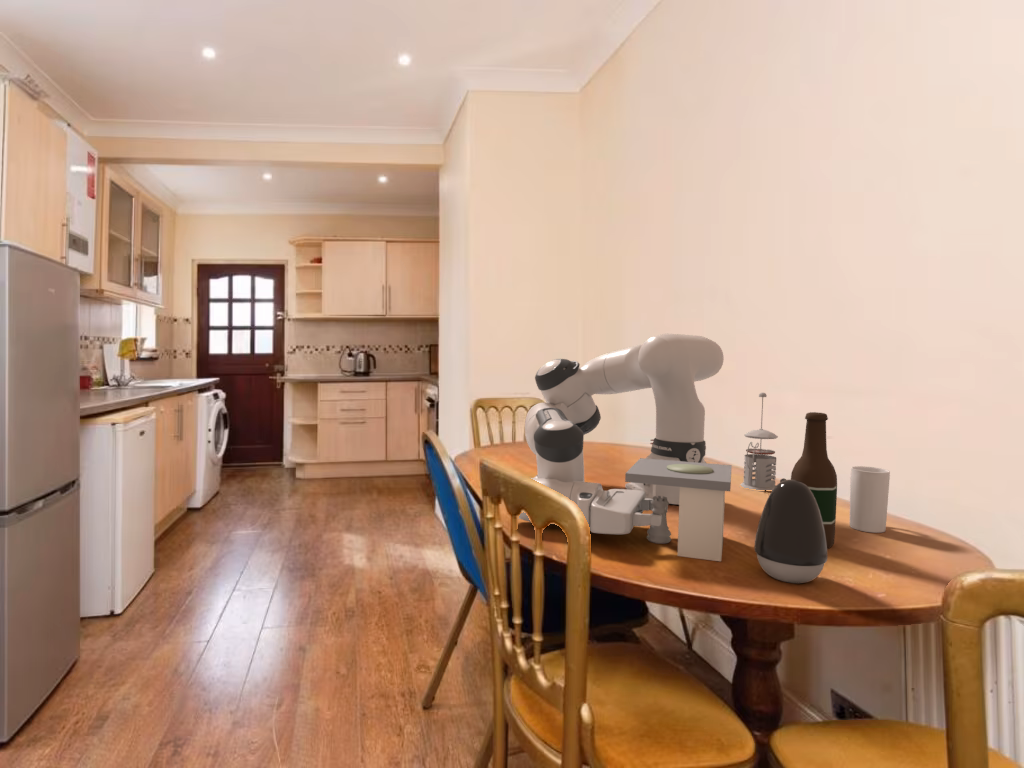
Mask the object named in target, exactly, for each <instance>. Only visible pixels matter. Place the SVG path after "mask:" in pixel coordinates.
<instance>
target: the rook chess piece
mask: <svg viewBox="0 0 1024 768" xmlns="http://www.w3.org/2000/svg"><path fill="white" fill-rule="evenodd" d="M651 503H652V505H653V509H652V510H651V511H652V513H654V514H660V515H661V516H662V523H661V525H660V526H653V525H649V527H648V529H647V530H646V533H647V536H646V539H647V540H648V542H650V543H652V544H657V545H658V544H659V545H660V544H661V545H665V544H669V543H670V542H671V541H672V538H671V535H672V532H671V531H670V529H669V528H670V527H669V526H668V520H667V513H668V510H666V508H667V506H668V507H669V505H670V504H669V502H668V501H667V497H664V496H663V499H662V498H661V496H658V498H657V496H654V497H653V500H652V501H651Z"/></svg>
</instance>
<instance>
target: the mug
mask: <svg viewBox="0 0 1024 768" xmlns="http://www.w3.org/2000/svg"><path fill="white" fill-rule="evenodd" d="M890 474H891V471H890V470H888V469H885V468H882V467H881V468H880V467H873V466H862V465H861V466H858V465H857V466H851V467H850V477H849V478H850V485H849V486H850V487H849V488H850V489H849V526H850V528H851V529H854V530H856V531H861V532H866V533H874V534H875V533H876V534H879V533H884V532H886V531H887V530H886V528H887V520H888V519H887V518H888V516H887V515H888V503H889V491H890V479H891V478H890V477H891V475H890Z"/></svg>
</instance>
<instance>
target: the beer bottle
mask: <svg viewBox="0 0 1024 768" xmlns="http://www.w3.org/2000/svg"><path fill="white" fill-rule="evenodd" d="M804 420H806V424H805V432H804V441H803V449H802V454H801V457H800V458H798V460H797V462H796V463H795V464H794V466H793V469H792V471H791V474H790V480H798V481H800V482H802V483H804V484H805V485H807V486H808V487H809V489H810V490H811V492H812V493H813V495H814V497H815V499H816V502H817V504H818V507H819V510H820V513H821V517H822V521H823V525H824V530H825V536H826V543H827V550H828V549H830V548H831V547H832V546H833V545H834V544H835V538H836V522H837V521H836V520H837V502H838V501H837V495H838V475H837V472H836V469H835V466H834V465H833V463H832V462H831V460H830V459H829V457H828V456H829V455H828V449H827V447H828V446H827V421H828V420H829V417H828V415H827V413H825V412H816V411H814V412H811V411H810V412H807V413H806V414H805V416H804Z"/></svg>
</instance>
